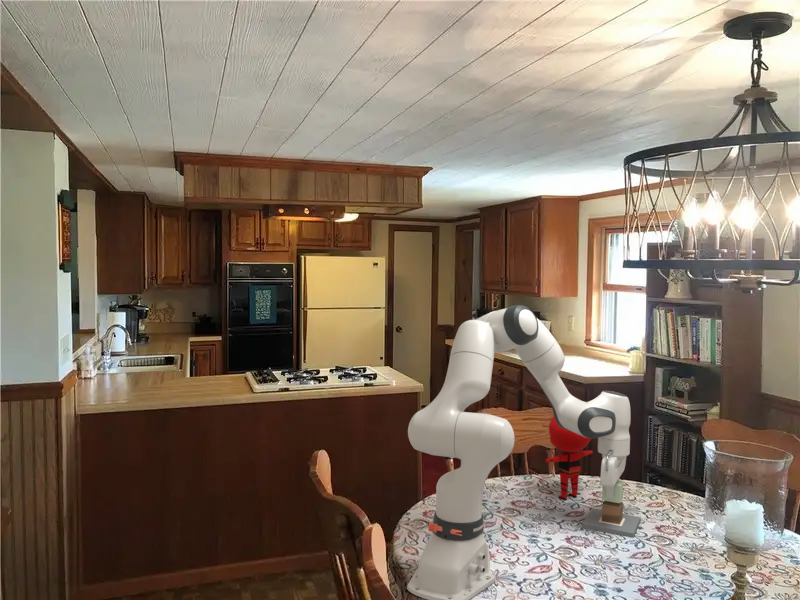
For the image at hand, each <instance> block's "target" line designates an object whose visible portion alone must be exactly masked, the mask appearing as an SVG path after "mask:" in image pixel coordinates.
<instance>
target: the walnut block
mask: <svg viewBox="0 0 800 600" xmlns="http://www.w3.org/2000/svg"><path fill="white" fill-rule="evenodd" d="M623 509H624V502H623V501H621V503H615V502H610V501H604V500H603V501H602V504H601V510H602V521H603V522H608V523H613V524H619V525H620V523H621V521H622V519H623V514H624V510H623Z"/></svg>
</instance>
